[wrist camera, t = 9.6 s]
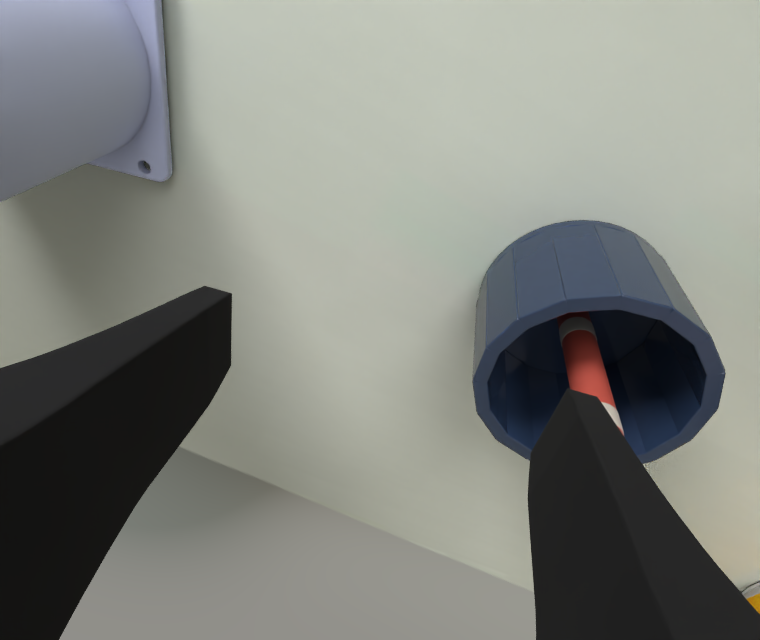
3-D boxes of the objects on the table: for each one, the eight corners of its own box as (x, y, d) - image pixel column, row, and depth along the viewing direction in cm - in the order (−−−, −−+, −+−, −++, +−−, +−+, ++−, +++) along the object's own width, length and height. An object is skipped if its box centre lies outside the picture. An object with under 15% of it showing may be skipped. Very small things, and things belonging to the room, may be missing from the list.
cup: (457, 348, 23) (448, 439, 18) (511, 198, 18) (517, 268, 14) (616, 391, 22) (647, 493, 18) (710, 248, 18) (781, 336, 14)
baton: (550, 318, 20) (576, 476, 14) (562, 293, 20) (596, 448, 13) (580, 326, 20) (620, 488, 14) (593, 301, 20) (642, 461, 13)
